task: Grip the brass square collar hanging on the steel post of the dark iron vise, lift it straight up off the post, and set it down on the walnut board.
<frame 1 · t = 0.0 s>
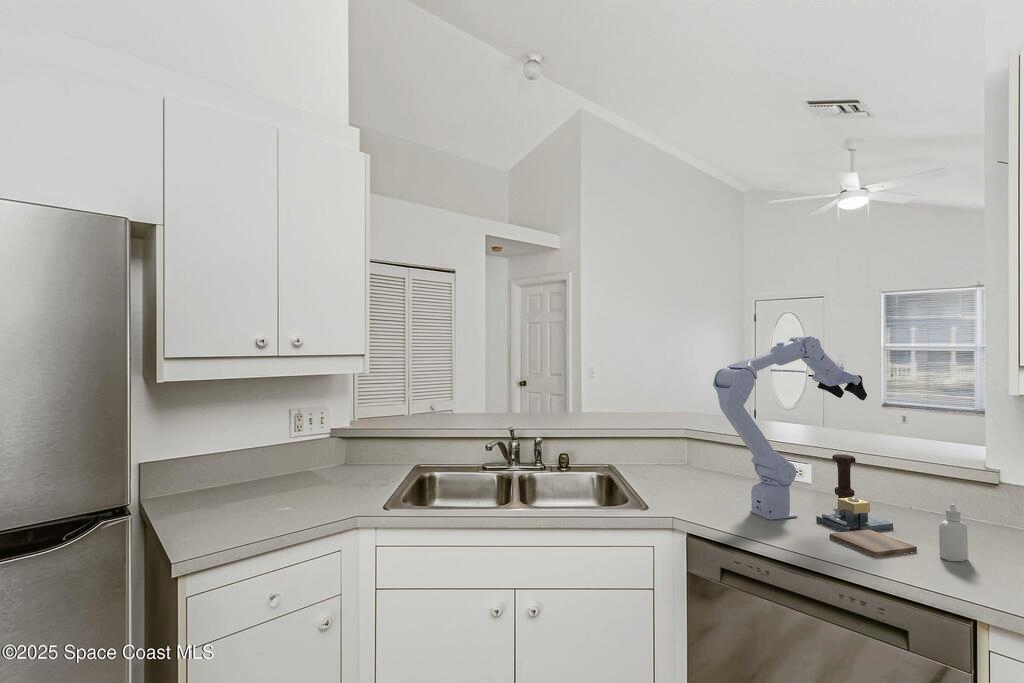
hand: (852, 396, 152), 32 cm above the worktop, tool tilted 50°, fingers open, 7 cm apart
vise: (853, 525, 136), on the worktop
collar: (853, 510, 136), point 4 cm above the worktop, touching vise
board: (871, 545, 122), on the worktop
eye dropper bottle: (953, 559, 114), on the worktop
bolt: (844, 508, 151), on the worktop
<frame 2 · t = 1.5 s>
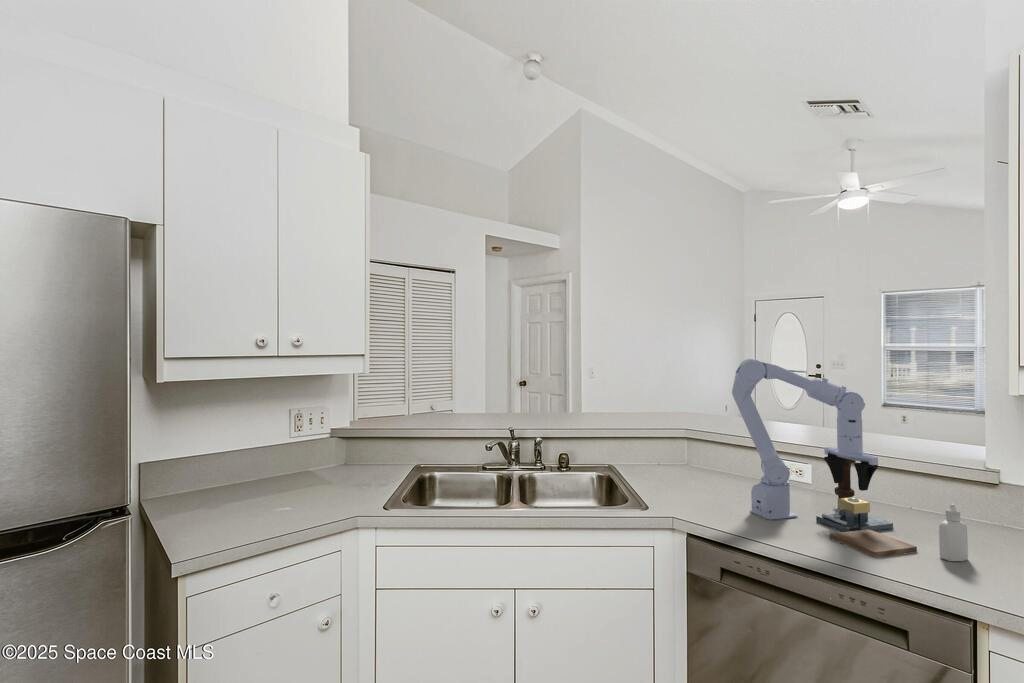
hand: (850, 486, 139), 9 cm above the worktop, tool pointing down, fingers open, 7 cm apart
nothing on the worktop moved.
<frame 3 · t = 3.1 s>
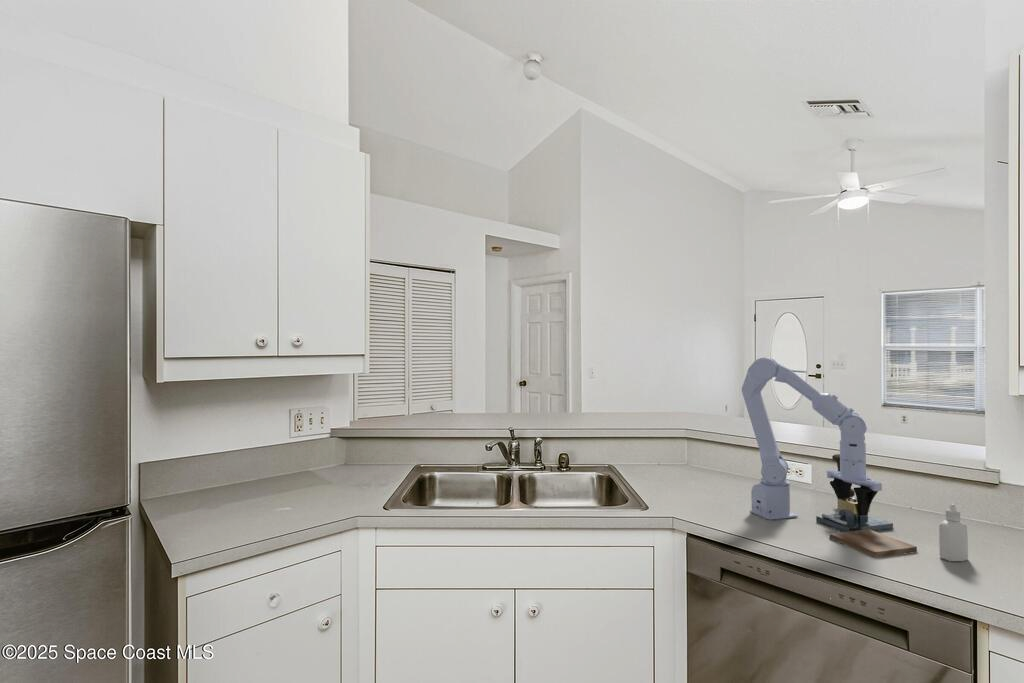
hand: (853, 511, 136), 4 cm above the worktop, tool pointing down, fingers closed on collar, 5 cm apart
collar: (853, 510, 136), point 4 cm above the worktop, touching gripper, vise
everything else where it was.
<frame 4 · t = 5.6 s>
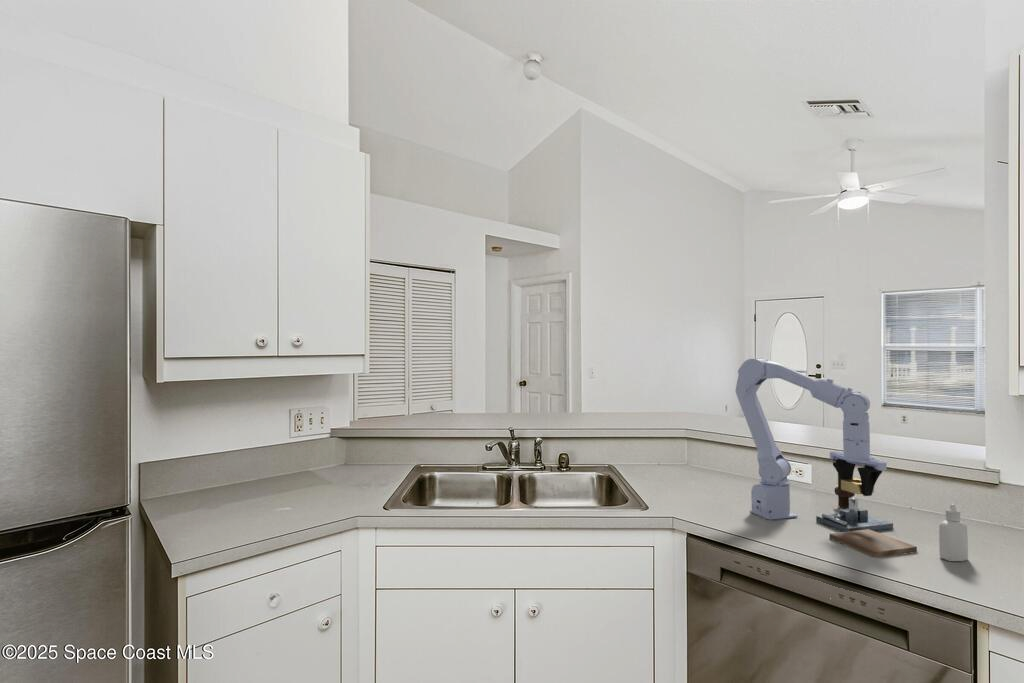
hand: (857, 492, 133), 9 cm above the worktop, tool pointing down, fingers closed on collar, 5 cm apart
collar: (857, 491, 133), point 10 cm above the worktop, touching gripper
everything else where it was.
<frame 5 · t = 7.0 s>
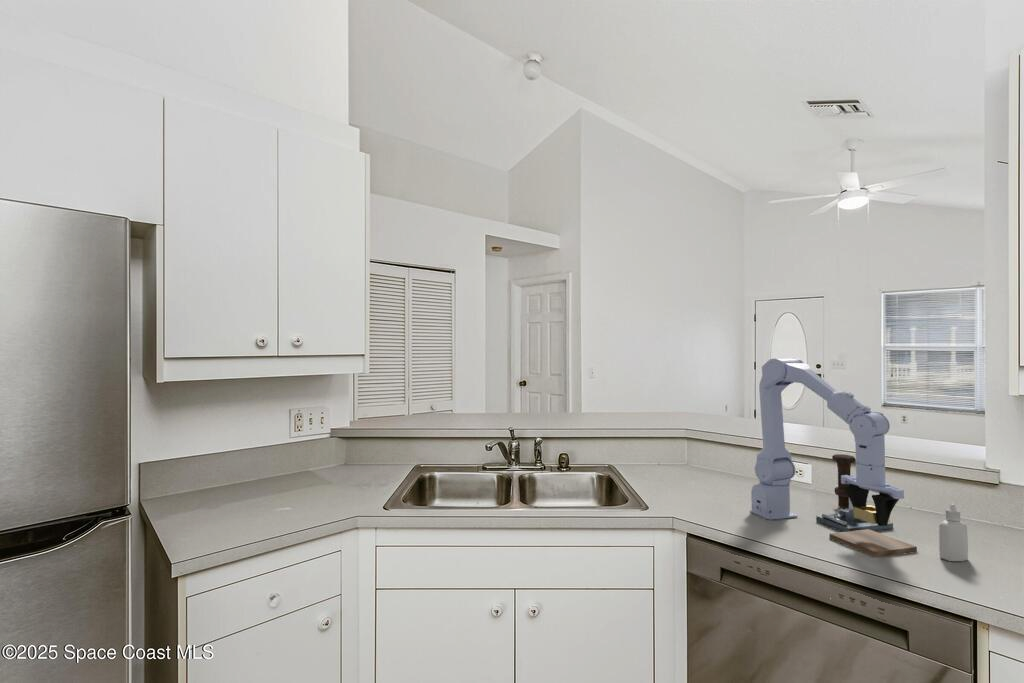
hand: (871, 521, 122), 6 cm above the worktop, tool pointing down, fingers closed on collar, 5 cm apart
collar: (871, 519, 122), point 6 cm above the worktop, touching gripper
everything else where it was.
when the fingers open (2 cm above the worktop, at t = 8.1 s): collar drops 2 cm, resting on board.
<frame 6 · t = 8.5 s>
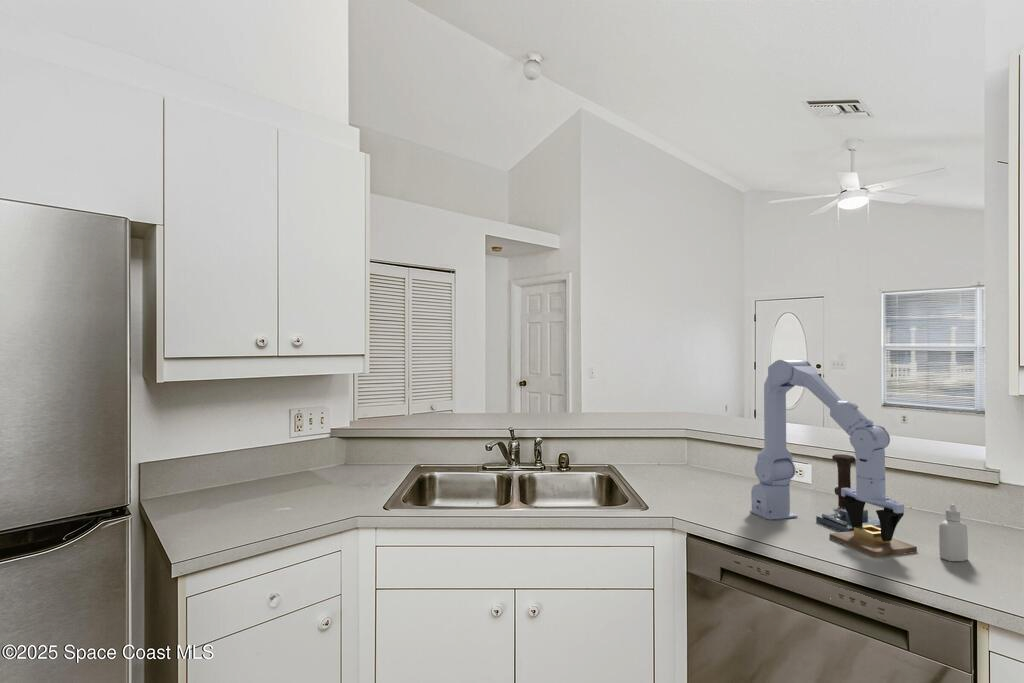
hand: (871, 534, 122), 2 cm above the worktop, tool pointing down, fingers open, 7 cm apart
collar: (871, 539, 122), point 1 cm above the worktop, touching board
everything else where it was.
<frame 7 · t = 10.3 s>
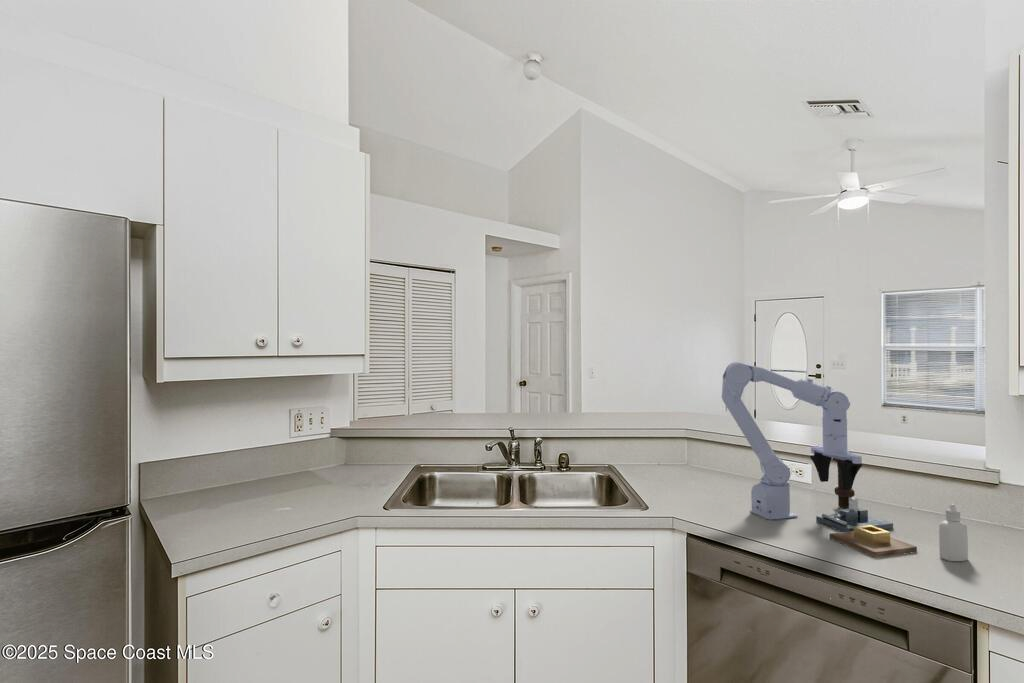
hand: (835, 484, 140), 9 cm above the worktop, tool pointing down, fingers open, 7 cm apart
nothing on the worktop moved.
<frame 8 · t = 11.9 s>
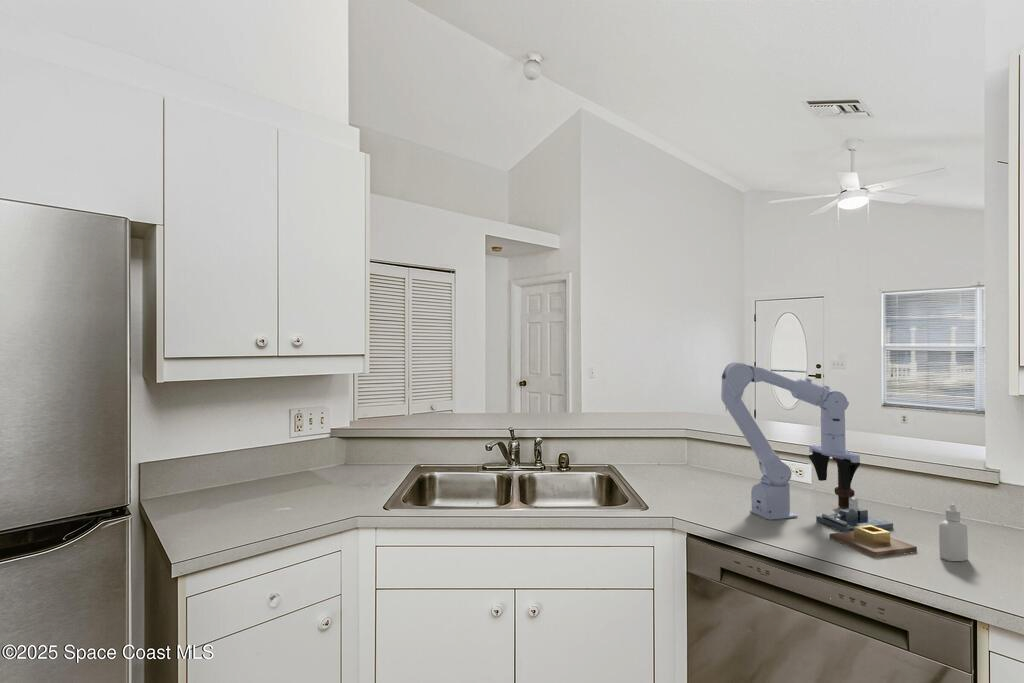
hand: (833, 483, 142), 9 cm above the worktop, tool pointing down, fingers open, 7 cm apart
nothing on the worktop moved.
at the end: collar 0.1 cm off-centre on the board, point 1.2 cm above the board's base; collar tilted 0°; the gripper is holding nothing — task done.
